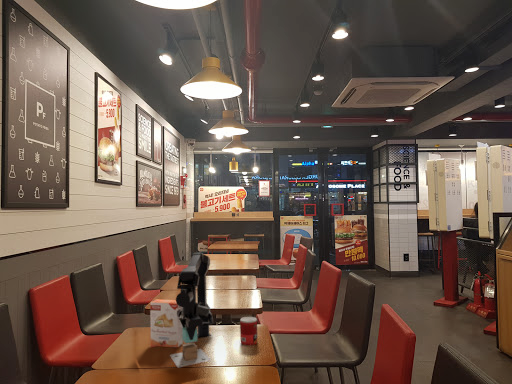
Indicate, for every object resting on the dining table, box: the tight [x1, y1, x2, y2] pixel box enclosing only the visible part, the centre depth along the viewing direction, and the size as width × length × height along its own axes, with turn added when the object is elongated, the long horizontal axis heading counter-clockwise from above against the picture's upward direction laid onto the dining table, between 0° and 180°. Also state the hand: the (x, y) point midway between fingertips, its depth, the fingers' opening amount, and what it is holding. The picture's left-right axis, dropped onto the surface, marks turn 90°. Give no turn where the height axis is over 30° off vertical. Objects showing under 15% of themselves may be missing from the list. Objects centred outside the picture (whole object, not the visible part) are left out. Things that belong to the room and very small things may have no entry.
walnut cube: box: [181, 342, 198, 361], centre depth 153 cm, size 5×5×5 cm
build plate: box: [169, 348, 212, 369], centre depth 153 cm, size 14×14×1 cm
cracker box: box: [149, 298, 184, 348], centre depth 169 cm, size 14×6×21 cm, turn 76°
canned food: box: [239, 316, 258, 346], centre depth 171 cm, size 8×8×11 cm
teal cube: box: [182, 327, 198, 344], centre depth 153 cm, size 5×5×5 cm
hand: (189, 337), depth 153 cm, fingers closed on teal cube, 5 cm apart
